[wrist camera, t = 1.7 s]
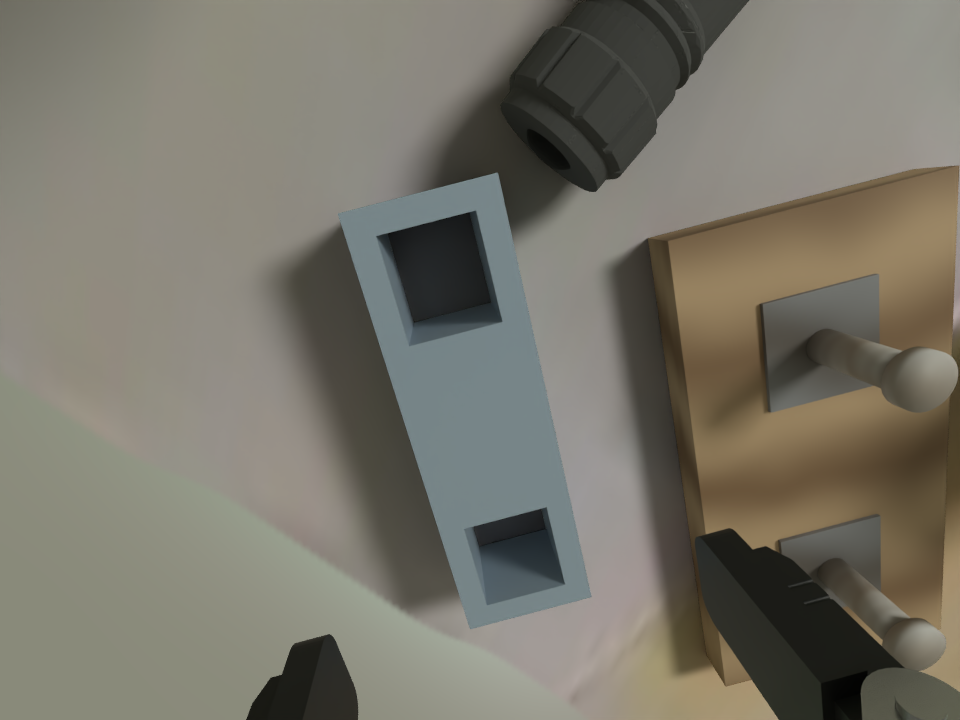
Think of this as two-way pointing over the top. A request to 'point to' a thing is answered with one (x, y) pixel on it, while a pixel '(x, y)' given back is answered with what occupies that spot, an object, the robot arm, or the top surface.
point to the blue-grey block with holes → (475, 407)
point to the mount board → (821, 394)
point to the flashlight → (608, 81)
